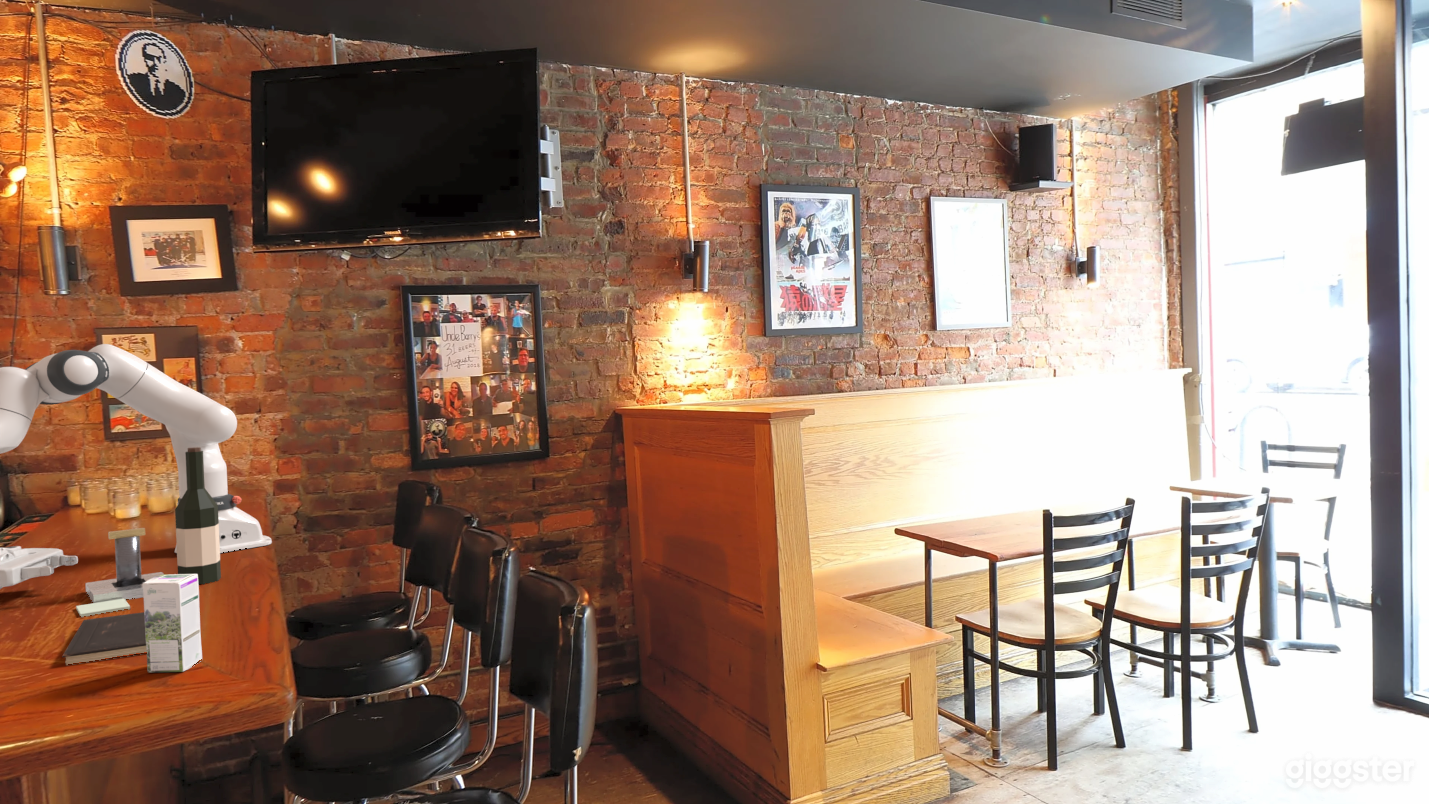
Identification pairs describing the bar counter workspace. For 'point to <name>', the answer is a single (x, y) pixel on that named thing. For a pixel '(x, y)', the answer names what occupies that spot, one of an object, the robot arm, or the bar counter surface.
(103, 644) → the hardcover book
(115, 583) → the plate
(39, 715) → the bar counter surface
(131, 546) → the t key
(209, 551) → the wine bottle
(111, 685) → the bar counter surface
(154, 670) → the syrup box
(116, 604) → the coaster
